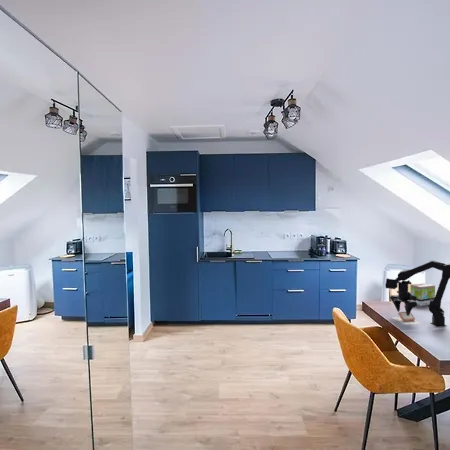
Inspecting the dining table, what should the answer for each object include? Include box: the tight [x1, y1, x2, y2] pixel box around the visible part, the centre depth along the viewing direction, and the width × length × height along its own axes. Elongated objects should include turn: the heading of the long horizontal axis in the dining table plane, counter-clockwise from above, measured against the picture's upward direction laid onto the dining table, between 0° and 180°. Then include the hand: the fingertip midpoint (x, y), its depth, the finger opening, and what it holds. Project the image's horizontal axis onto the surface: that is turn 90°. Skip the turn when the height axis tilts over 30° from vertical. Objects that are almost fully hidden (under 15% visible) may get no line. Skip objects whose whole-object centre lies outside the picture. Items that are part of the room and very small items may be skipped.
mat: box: [392, 316, 424, 326], centre depth 206 cm, size 14×12×1 cm
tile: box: [397, 311, 416, 321], centre depth 206 cm, size 2×8×6 cm
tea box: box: [409, 282, 436, 307], centre depth 244 cm, size 15×10×15 cm
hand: (403, 313), depth 209 cm, fingers open, 9 cm apart
